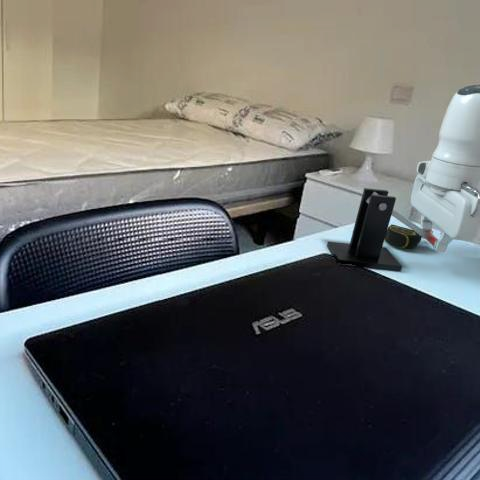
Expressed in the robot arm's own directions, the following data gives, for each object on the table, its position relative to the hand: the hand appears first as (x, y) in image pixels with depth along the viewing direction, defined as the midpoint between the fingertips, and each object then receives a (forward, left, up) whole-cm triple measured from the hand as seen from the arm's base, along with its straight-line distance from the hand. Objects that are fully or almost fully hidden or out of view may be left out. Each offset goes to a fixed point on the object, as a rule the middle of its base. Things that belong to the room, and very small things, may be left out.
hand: (431, 244), depth 98 cm
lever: (+7, 0, +3) cm, 8 cm away
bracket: (+12, 0, -5) cm, 13 cm away
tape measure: (+2, -10, -5) cm, 11 cm away
